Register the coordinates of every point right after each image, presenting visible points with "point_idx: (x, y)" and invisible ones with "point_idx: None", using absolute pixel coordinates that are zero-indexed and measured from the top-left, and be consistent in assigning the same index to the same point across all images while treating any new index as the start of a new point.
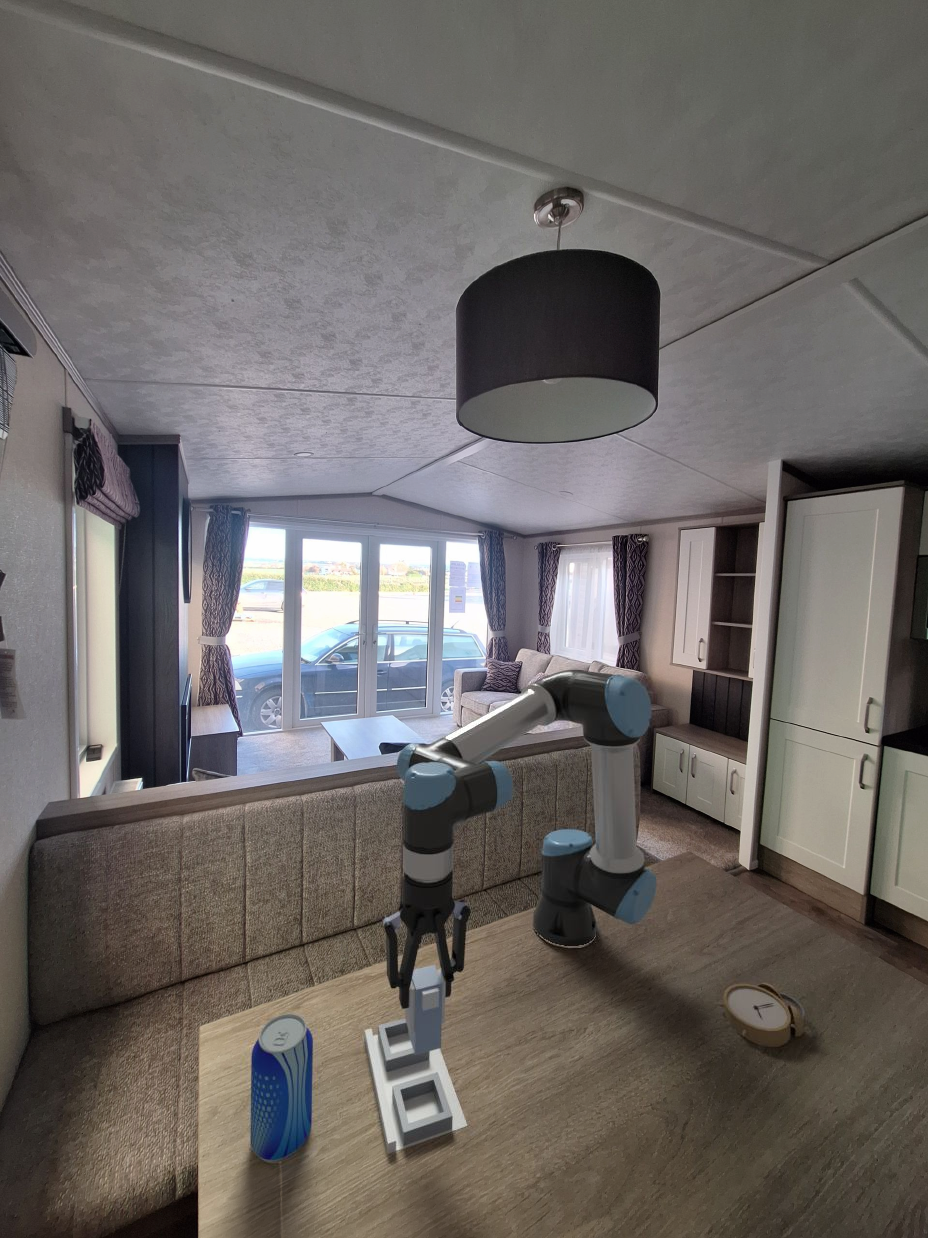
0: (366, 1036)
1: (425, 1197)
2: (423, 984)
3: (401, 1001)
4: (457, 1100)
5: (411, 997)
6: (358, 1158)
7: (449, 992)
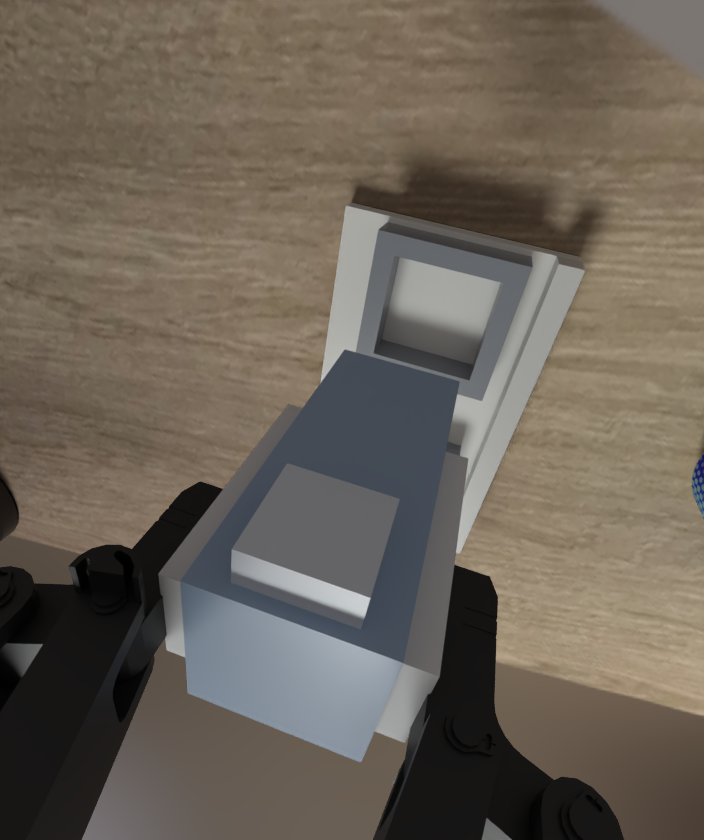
0: (464, 540)
1: (548, 100)
2: (323, 657)
3: (495, 626)
4: (336, 283)
5: (437, 618)
6: (642, 307)
7: (187, 500)
